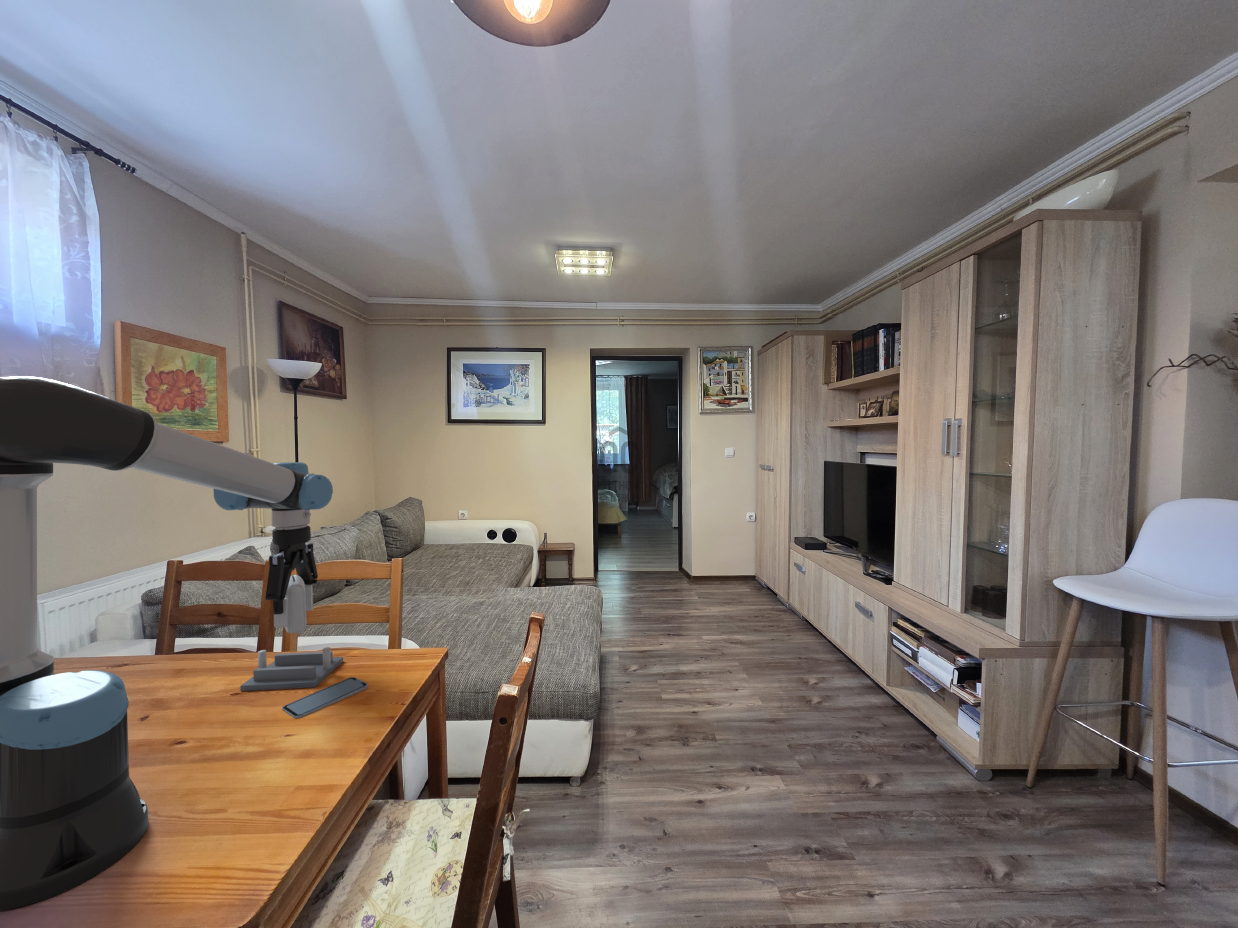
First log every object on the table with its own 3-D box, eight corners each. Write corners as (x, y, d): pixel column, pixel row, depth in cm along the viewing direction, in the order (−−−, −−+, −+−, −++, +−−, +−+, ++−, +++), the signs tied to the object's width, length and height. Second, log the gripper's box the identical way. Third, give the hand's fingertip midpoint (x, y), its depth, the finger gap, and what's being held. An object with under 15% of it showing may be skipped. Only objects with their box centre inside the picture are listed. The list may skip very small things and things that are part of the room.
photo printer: (282, 622, 115) (280, 573, 114) (303, 618, 118) (301, 570, 117) (285, 635, 107) (283, 583, 106) (308, 631, 110) (306, 579, 109)
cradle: (315, 686, 107) (315, 660, 106) (240, 690, 105) (239, 663, 105) (343, 661, 120) (342, 637, 119) (276, 664, 118) (275, 640, 118)
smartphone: (280, 707, 98) (352, 676, 111) (280, 711, 98) (352, 679, 111) (296, 717, 94) (369, 684, 107) (296, 722, 94) (369, 688, 107)
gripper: (279, 535, 100) (282, 636, 101) (331, 518, 123) (334, 601, 124) (242, 536, 100) (246, 638, 101) (301, 519, 122) (304, 602, 123)
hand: (294, 618), depth 112 cm, fingers closed on photo printer, 10 cm apart
